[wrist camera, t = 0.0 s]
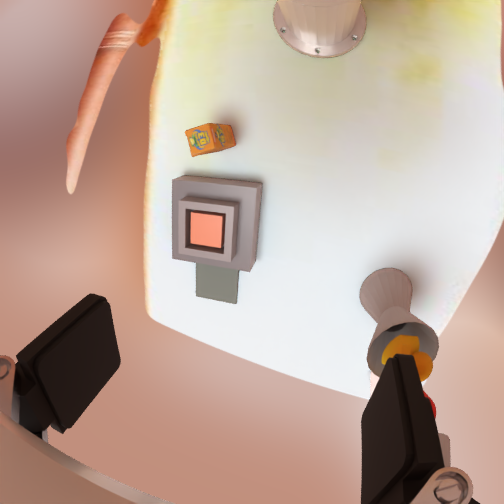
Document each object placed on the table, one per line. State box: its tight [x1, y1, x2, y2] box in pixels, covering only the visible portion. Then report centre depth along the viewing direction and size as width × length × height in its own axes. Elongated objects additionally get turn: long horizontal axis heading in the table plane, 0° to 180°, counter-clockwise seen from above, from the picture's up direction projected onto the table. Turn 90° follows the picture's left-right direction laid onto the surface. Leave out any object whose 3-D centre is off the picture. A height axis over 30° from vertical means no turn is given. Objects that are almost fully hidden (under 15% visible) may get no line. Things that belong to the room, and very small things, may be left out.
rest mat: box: [196, 263, 239, 304], centre depth 52 cm, size 7×7×1 cm
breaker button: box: [191, 210, 226, 248], centre depth 44 cm, size 4×4×3 cm
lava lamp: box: [360, 268, 450, 467], centre depth 30 cm, size 9×9×35 cm
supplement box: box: [185, 123, 236, 157], centre depth 39 cm, size 3×3×10 cm
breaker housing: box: [172, 175, 262, 272], centre depth 45 cm, size 12×12×6 cm
